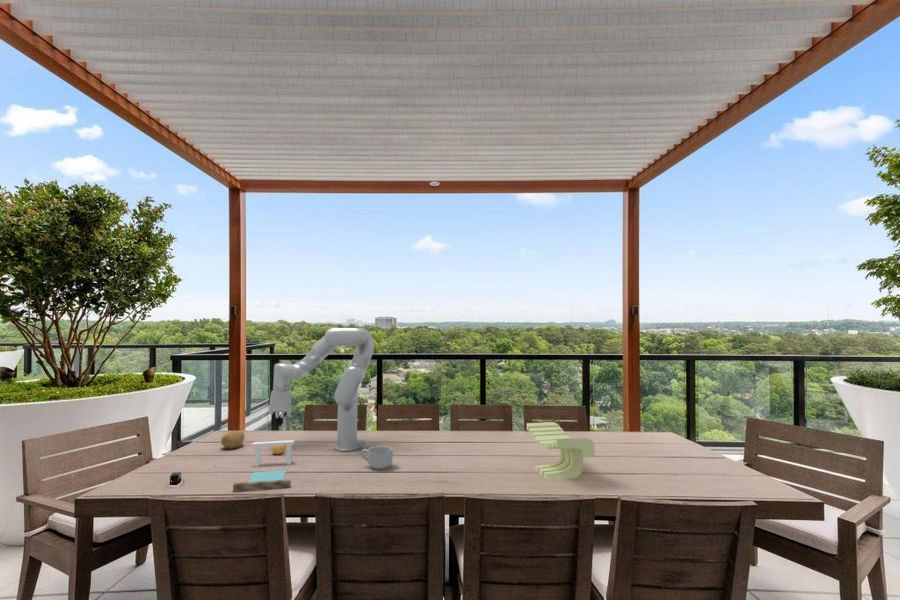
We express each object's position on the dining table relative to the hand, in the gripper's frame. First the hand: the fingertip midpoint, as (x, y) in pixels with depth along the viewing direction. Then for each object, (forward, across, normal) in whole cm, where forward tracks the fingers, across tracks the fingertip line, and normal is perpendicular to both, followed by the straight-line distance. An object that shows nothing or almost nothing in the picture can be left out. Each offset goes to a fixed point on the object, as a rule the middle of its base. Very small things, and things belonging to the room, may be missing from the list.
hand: (279, 425), depth 233 cm
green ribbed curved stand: (+8, -118, +66) cm, 135 cm away
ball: (+8, -1, +10) cm, 13 cm away
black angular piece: (+13, +32, +45) cm, 57 cm away
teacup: (+10, -45, +41) cm, 61 cm away
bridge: (+11, -1, +27) cm, 29 cm away
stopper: (+11, -1, +58) cm, 59 cm away
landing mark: (+11, -1, +44) cm, 45 cm away
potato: (+12, +22, -7) cm, 26 cm away
